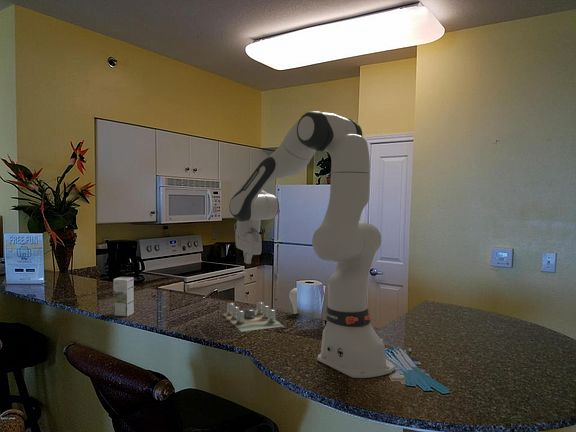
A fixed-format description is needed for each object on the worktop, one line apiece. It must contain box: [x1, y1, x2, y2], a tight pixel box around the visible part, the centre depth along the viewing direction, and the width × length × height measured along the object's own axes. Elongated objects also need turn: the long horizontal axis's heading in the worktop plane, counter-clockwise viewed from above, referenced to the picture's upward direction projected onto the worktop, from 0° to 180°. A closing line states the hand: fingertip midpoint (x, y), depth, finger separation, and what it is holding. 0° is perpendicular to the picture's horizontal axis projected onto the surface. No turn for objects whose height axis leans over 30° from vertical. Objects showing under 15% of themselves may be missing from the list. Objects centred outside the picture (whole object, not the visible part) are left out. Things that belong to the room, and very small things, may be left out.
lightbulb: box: [288, 287, 298, 315], centre depth 161 cm, size 6×6×11 cm
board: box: [222, 309, 285, 333], centre depth 153 cm, size 24×16×1 cm, turn 24°
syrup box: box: [112, 276, 135, 317], centre depth 160 cm, size 6×6×14 cm
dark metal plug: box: [243, 307, 256, 319], centre depth 155 cm, size 4×4×3 cm
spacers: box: [226, 301, 277, 325], centre depth 154 cm, size 18×14×4 cm
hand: (247, 263), depth 156 cm, fingers closed
